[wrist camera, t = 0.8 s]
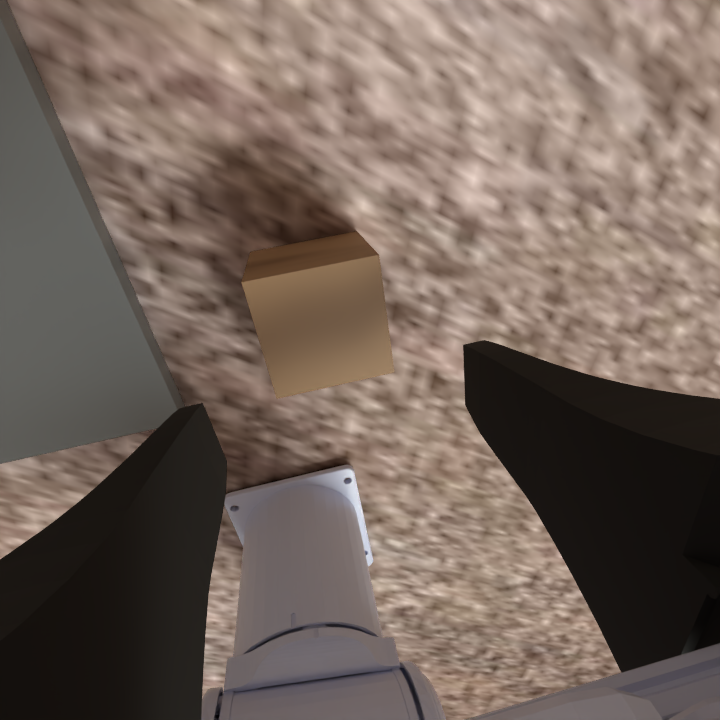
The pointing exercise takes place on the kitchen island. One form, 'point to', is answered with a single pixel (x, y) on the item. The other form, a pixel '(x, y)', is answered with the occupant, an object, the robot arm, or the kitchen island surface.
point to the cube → (319, 312)
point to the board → (63, 289)
